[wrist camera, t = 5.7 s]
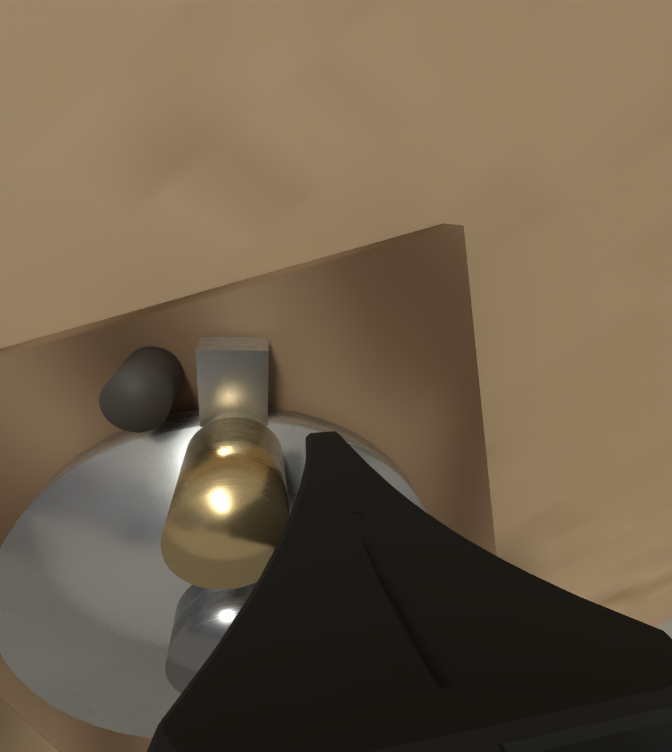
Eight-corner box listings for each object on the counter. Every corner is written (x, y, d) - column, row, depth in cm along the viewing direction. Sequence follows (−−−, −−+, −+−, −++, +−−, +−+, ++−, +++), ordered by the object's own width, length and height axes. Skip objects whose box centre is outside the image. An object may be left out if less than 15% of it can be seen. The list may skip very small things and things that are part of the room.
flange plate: (400, 679, 17) (437, 801, 13) (54, 733, 14) (-9, 900, 11) (474, 342, 11) (570, 402, 8) (-76, 331, 9) (-293, 413, 5)
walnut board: (111, 754, 18) (85, 854, 15) (-227, 413, 10) (-404, 490, 7) (490, 619, 19) (530, 688, 16) (443, 223, 11) (503, 229, 9)
